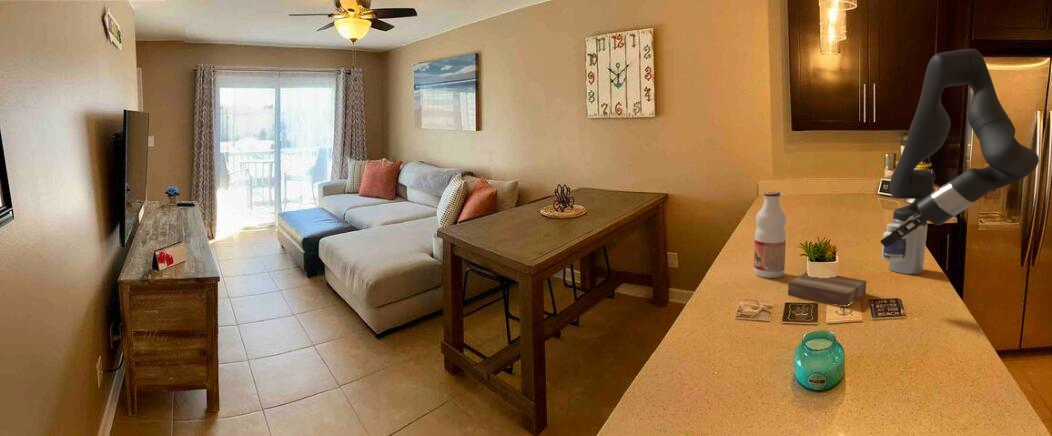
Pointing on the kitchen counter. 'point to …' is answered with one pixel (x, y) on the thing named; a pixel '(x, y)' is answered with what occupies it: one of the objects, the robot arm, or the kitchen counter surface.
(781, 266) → the fruit juice
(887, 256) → the pill bottle
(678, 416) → the kitchen counter surface
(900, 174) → the robot arm
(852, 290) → the walnut base
